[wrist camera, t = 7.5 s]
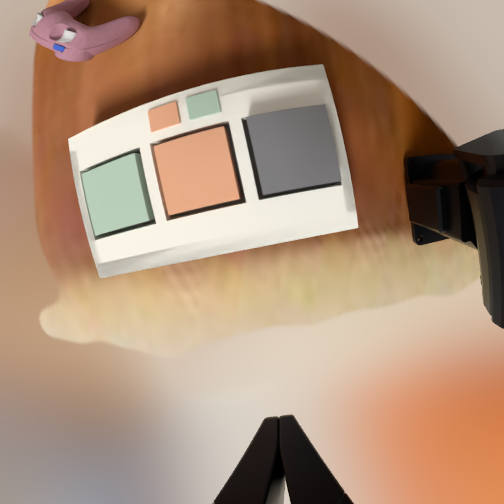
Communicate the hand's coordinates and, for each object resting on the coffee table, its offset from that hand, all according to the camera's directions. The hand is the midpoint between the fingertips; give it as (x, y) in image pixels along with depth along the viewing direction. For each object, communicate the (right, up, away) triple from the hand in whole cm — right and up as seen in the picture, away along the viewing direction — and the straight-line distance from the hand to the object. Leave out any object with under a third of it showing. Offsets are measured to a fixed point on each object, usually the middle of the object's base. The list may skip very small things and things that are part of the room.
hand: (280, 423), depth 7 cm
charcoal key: (+1, +11, +8) cm, 14 cm away
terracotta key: (-4, +10, +10) cm, 15 cm away
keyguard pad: (-4, +10, +11) cm, 15 cm away
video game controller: (-15, +24, +8) cm, 29 cm away
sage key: (-9, +9, +10) cm, 17 cm away
